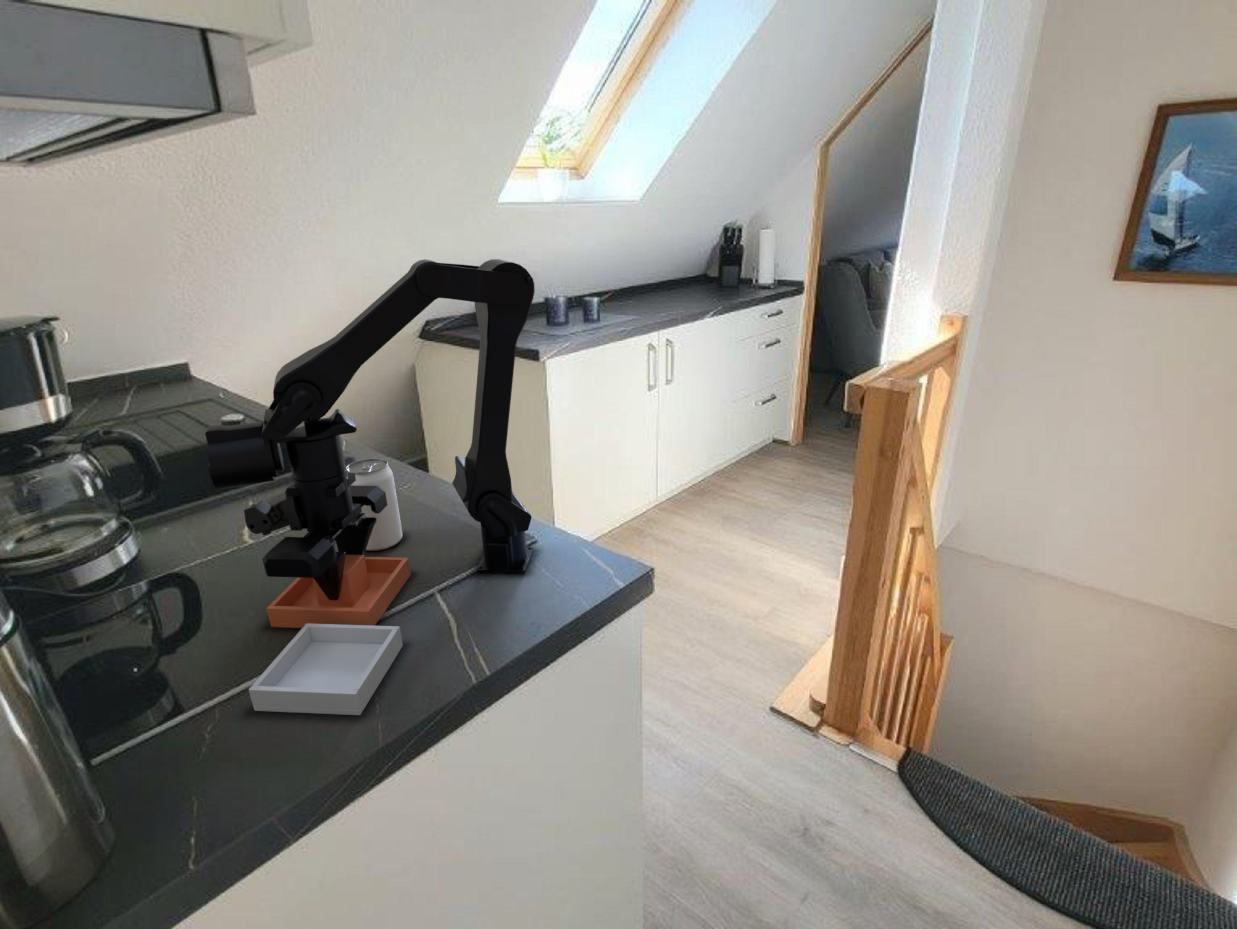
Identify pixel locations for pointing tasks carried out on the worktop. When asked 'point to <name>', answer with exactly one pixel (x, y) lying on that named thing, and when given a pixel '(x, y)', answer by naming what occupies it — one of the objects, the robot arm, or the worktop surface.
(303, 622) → the terracotta tray
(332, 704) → the steel tray
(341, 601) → the block
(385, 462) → the can
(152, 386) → the worktop surface
